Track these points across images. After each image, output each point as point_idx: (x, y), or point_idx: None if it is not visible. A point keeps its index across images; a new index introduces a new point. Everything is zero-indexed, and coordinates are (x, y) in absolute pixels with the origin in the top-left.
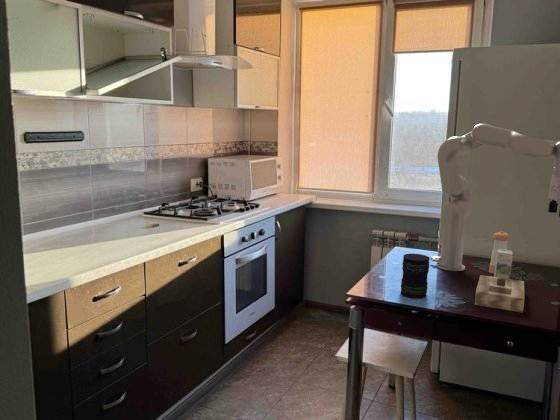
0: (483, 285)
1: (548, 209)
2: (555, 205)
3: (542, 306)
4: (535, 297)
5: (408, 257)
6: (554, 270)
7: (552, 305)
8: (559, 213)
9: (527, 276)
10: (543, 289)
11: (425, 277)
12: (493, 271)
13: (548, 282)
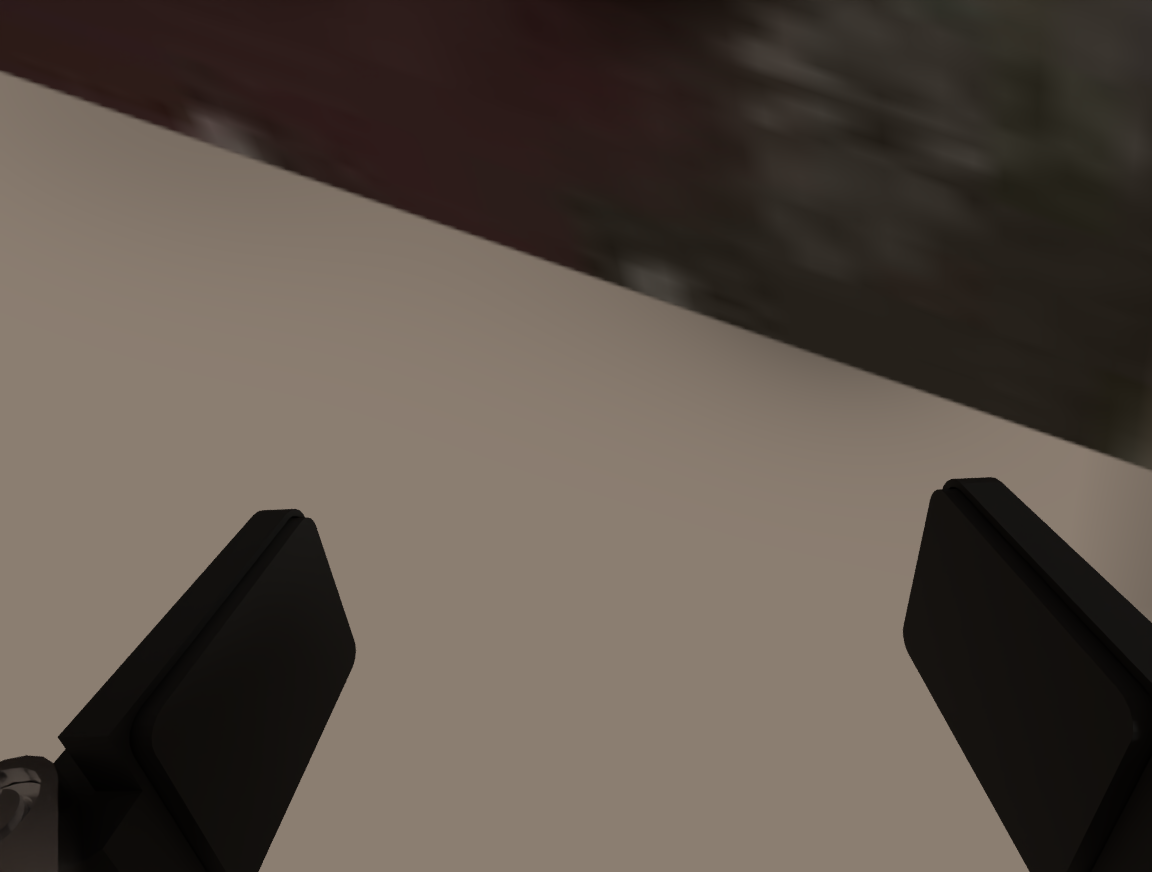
0: None
1: (1034, 516)
2: (1021, 786)
3: (95, 19)
4: (290, 33)
5: None
6: (1022, 419)
7: (159, 108)
8: (236, 551)
9: (849, 153)
10: (518, 170)
11: None
12: None
13: (707, 269)
